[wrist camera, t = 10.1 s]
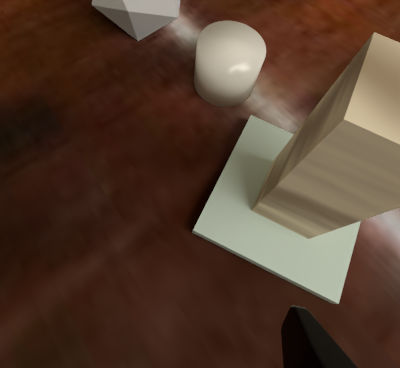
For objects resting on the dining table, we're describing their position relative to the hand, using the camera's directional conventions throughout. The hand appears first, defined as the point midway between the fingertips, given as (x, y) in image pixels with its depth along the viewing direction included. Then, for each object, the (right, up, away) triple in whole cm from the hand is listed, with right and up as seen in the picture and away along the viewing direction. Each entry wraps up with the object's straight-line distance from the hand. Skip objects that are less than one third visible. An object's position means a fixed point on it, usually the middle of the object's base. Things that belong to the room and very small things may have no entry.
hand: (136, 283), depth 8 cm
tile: (+9, +1, +16) cm, 18 cm away
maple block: (+9, +2, +15) cm, 18 cm away
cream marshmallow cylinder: (+4, +13, +20) cm, 24 cm away
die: (-4, +20, +22) cm, 30 cm away
